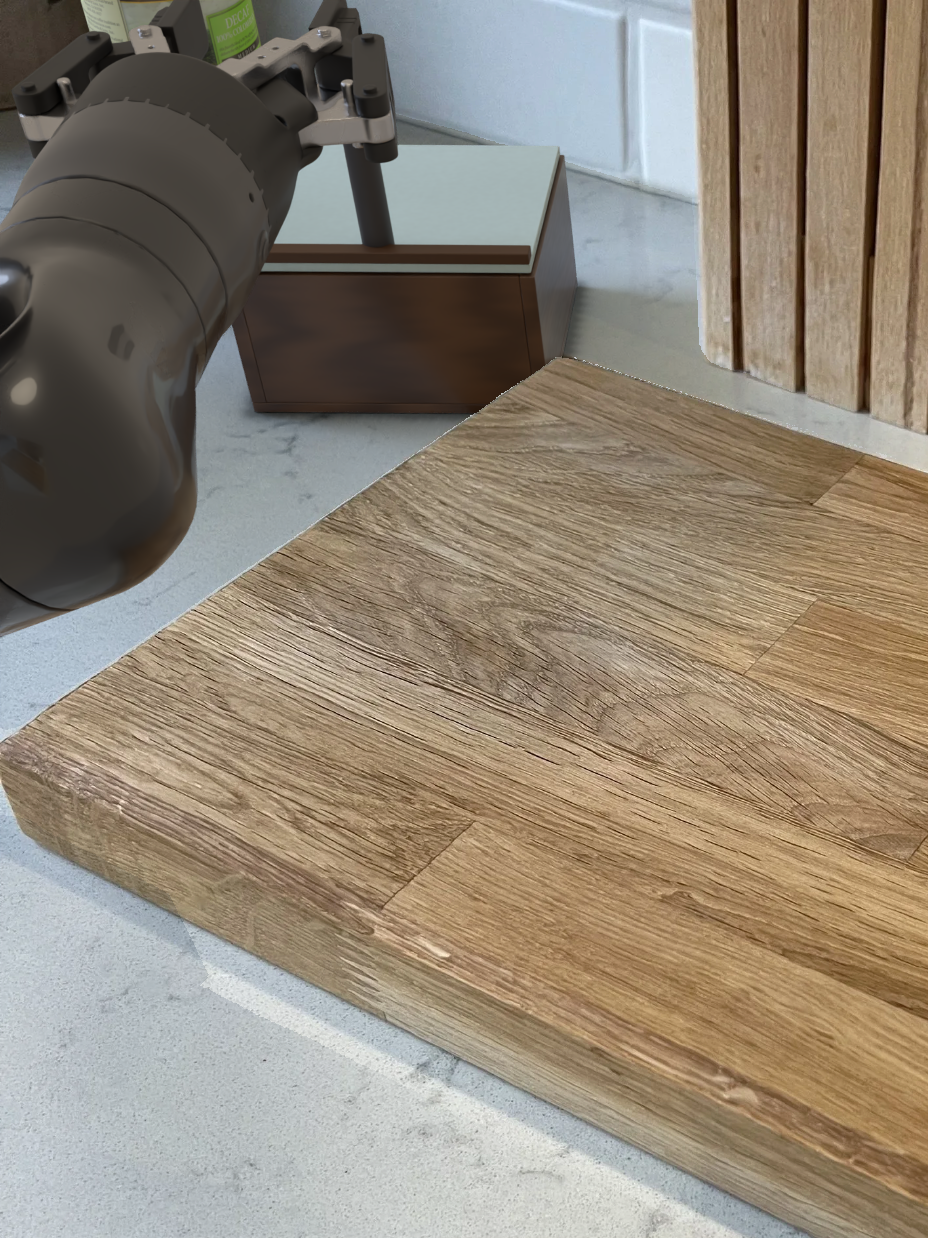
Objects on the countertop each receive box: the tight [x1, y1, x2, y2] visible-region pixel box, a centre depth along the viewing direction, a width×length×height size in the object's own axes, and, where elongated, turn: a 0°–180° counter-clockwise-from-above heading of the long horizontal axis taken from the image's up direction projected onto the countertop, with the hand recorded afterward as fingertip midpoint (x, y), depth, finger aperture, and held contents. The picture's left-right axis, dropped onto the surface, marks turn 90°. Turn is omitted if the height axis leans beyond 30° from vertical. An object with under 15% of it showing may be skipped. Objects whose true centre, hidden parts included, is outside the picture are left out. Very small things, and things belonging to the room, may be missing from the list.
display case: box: [231, 154, 578, 414], centre depth 96 cm, size 16×14×8 cm
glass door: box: [261, 144, 561, 273], centre depth 90 cm, size 16×14×8 cm
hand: (267, 20), depth 71 cm, fingers open, 5 cm apart
